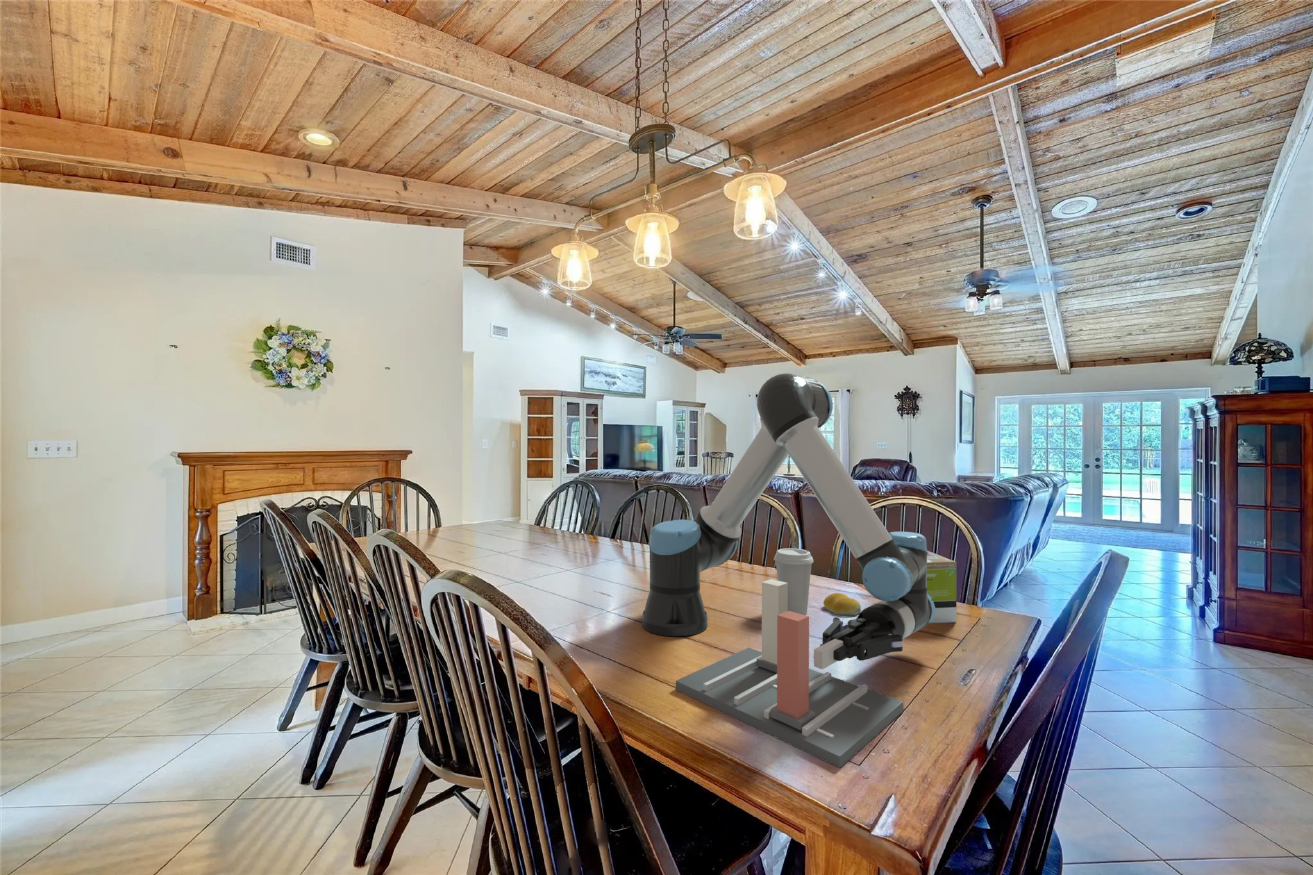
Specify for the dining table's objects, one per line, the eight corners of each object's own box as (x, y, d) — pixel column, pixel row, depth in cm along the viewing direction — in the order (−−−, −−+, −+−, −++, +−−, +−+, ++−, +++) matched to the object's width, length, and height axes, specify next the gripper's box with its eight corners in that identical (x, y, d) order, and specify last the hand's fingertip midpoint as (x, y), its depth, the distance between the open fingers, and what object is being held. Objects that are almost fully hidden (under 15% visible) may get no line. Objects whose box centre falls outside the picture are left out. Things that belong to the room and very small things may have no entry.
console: (675, 689, 92) (675, 674, 92) (748, 654, 106) (748, 642, 106) (839, 767, 70) (839, 748, 70) (903, 710, 85) (903, 695, 85)
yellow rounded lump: (841, 618, 128) (841, 601, 128) (818, 607, 137) (818, 591, 137) (869, 614, 131) (869, 598, 131) (844, 603, 140) (844, 588, 140)
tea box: (884, 604, 139) (884, 547, 139) (921, 603, 140) (921, 547, 140) (917, 624, 124) (917, 561, 124) (958, 623, 125) (958, 560, 125)
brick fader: (770, 716, 79) (771, 614, 79) (785, 707, 82) (785, 608, 82) (800, 730, 75) (801, 623, 75) (815, 719, 78) (815, 616, 78)
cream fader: (756, 665, 97) (756, 581, 97) (769, 658, 100) (769, 577, 100) (780, 674, 93) (780, 587, 93) (792, 667, 96) (792, 583, 96)
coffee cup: (815, 619, 127) (815, 556, 127) (774, 616, 129) (774, 554, 129) (811, 607, 136) (811, 548, 136) (773, 604, 138) (773, 546, 138)
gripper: (921, 654, 95) (857, 698, 79) (851, 633, 104) (782, 669, 88) (921, 611, 95) (857, 647, 79) (851, 595, 104) (782, 624, 88)
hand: (818, 659), depth 84 cm, fingers closed
